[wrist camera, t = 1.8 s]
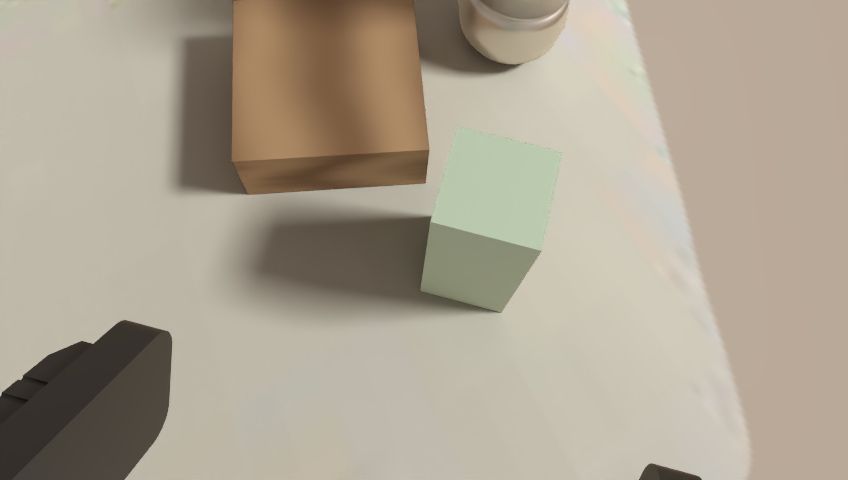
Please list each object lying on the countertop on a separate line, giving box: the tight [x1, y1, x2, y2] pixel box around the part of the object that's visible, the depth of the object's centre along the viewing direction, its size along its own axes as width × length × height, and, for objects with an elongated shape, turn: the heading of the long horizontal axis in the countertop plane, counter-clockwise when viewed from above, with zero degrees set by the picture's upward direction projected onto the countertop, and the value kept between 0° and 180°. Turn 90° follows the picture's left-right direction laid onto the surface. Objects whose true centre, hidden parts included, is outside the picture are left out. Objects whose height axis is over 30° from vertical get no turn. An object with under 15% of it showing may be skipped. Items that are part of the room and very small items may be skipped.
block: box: [420, 126, 562, 312], centre depth 31 cm, size 4×4×10 cm
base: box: [232, 0, 429, 194], centre depth 37 cm, size 10×10×4 cm
